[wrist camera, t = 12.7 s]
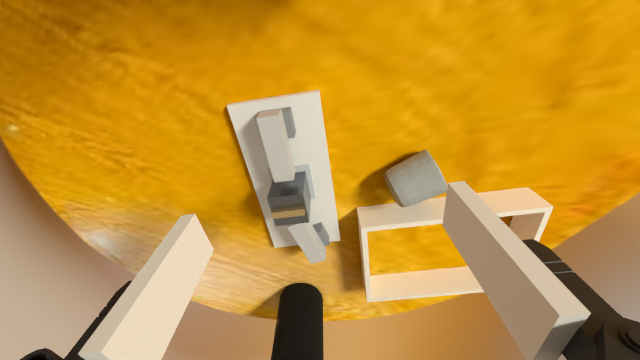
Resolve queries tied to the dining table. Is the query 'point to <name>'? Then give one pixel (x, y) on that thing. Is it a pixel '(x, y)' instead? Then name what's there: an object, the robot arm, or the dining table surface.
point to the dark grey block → (290, 200)
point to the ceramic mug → (415, 179)
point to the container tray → (449, 281)
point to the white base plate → (290, 163)
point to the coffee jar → (299, 324)
